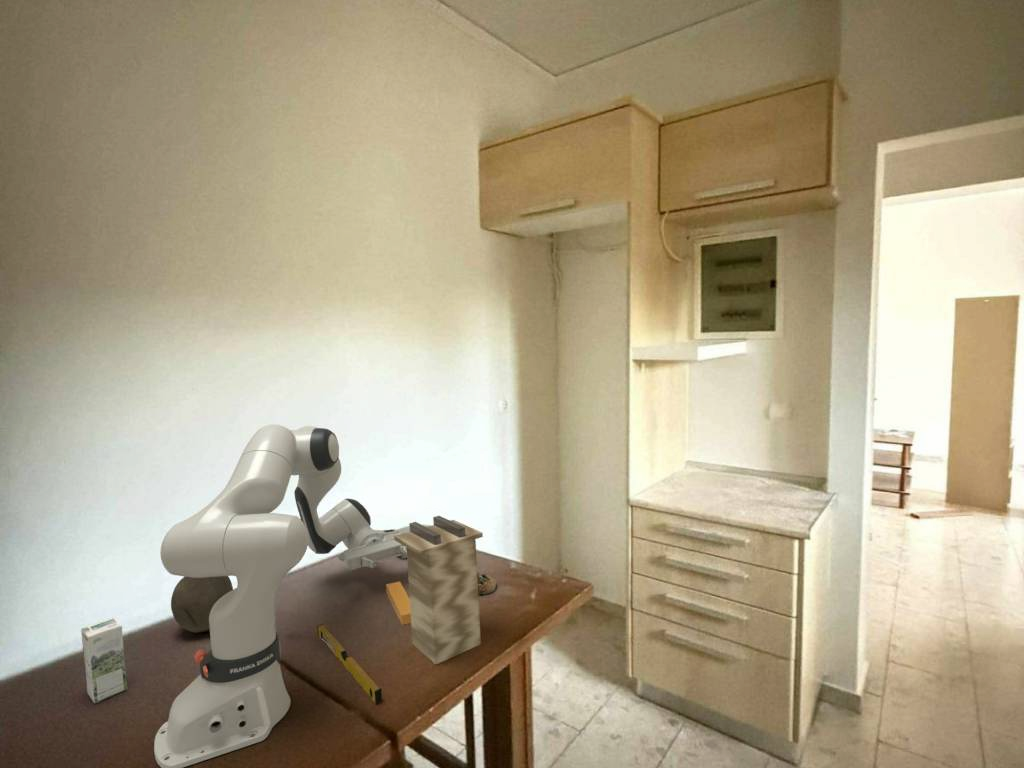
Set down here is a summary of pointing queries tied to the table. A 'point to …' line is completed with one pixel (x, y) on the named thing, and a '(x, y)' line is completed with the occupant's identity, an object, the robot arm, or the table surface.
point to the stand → (443, 587)
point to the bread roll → (485, 584)
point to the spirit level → (352, 665)
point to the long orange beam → (399, 601)
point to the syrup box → (104, 659)
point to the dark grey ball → (197, 600)
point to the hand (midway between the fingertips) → (390, 559)
